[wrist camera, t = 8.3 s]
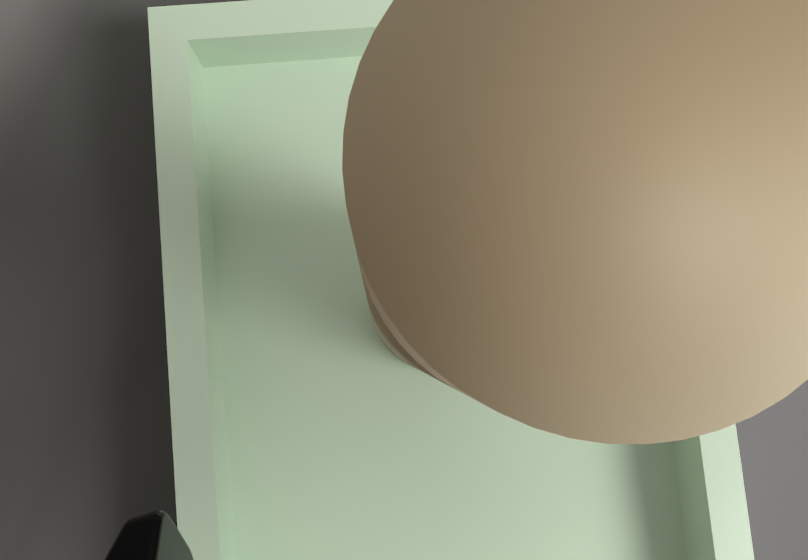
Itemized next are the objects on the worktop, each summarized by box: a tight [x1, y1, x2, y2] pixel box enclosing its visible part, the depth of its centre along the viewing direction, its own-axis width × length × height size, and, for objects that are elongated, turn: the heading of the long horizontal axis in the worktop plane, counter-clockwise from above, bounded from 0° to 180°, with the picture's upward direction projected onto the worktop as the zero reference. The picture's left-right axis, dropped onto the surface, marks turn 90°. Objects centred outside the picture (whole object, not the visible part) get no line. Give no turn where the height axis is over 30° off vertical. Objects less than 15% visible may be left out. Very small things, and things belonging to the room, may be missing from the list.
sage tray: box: [147, 0, 754, 560], centre depth 17 cm, size 16×12×2 cm
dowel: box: [342, 0, 808, 444], centre depth 11 cm, size 3×3×13 cm
